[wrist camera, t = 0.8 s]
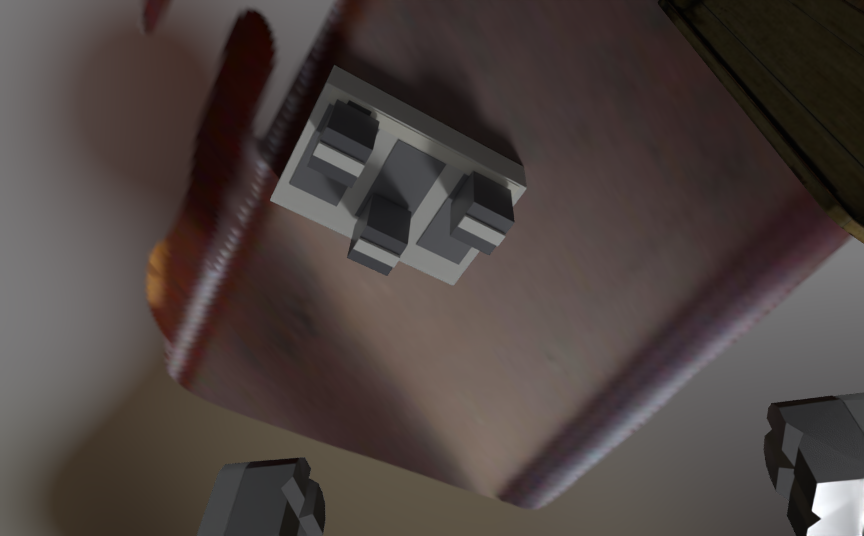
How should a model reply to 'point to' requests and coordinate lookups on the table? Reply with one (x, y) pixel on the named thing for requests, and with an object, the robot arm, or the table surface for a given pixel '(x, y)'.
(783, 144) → the book
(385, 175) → the switch panel
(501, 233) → the tab
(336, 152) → the tab
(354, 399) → the table surface
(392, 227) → the tab middle
